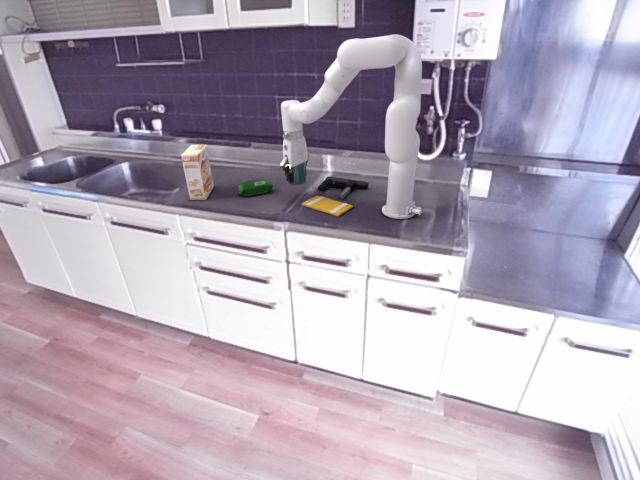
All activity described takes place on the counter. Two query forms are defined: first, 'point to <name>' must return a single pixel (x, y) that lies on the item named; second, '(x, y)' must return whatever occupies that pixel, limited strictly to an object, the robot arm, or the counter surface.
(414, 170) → the robot arm
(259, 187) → the snack package
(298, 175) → the teal mug
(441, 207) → the counter surface
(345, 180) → the black toy gun
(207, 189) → the coffeecake box
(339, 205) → the towel
